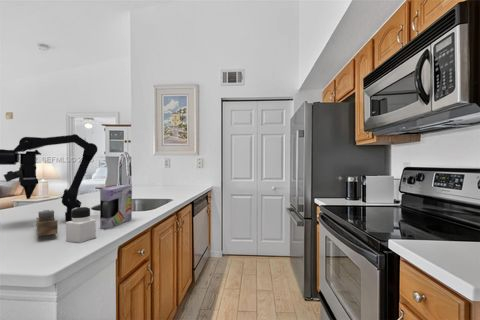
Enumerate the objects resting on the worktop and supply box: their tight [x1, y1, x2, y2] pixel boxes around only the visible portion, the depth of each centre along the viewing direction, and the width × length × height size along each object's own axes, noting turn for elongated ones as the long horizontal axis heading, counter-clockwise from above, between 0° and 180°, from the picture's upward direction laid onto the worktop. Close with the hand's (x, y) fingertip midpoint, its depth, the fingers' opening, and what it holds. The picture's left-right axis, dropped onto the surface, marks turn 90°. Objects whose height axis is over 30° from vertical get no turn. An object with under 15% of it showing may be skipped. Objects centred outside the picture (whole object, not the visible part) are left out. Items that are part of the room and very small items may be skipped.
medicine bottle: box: [65, 206, 97, 244], centre depth 104 cm, size 7×7×12 cm
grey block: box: [38, 209, 55, 222], centre depth 111 cm, size 5×4×6 cm
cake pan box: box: [99, 184, 133, 230], centre depth 127 cm, size 19×5×18 cm, turn 170°
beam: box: [35, 217, 59, 237], centre depth 111 cm, size 6×23×7 cm, turn 38°
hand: (28, 198), depth 125 cm, fingers closed
